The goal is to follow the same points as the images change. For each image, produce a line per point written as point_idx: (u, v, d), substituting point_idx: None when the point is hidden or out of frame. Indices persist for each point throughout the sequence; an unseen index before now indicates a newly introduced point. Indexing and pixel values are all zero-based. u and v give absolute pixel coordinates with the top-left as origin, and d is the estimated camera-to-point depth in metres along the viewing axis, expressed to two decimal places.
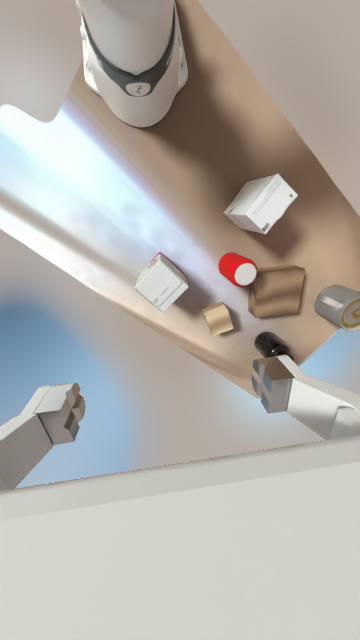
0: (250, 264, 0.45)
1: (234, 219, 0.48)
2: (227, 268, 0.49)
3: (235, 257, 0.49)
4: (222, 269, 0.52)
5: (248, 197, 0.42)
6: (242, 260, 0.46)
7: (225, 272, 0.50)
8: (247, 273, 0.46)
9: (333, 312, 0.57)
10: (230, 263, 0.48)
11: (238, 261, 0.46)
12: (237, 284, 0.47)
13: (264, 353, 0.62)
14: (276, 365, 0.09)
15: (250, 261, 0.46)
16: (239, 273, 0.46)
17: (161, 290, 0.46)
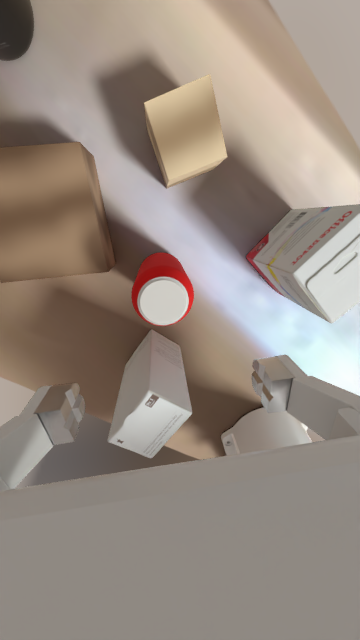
0: (157, 323, 0.21)
1: (172, 354, 0.31)
2: None
3: None
4: None
5: None
6: (171, 324, 0.22)
7: None
8: (160, 305, 0.20)
9: None
10: None
11: (178, 321, 0.22)
12: (177, 276, 0.20)
13: None
14: (276, 365, 0.09)
15: (154, 324, 0.22)
16: (179, 305, 0.20)
17: (353, 265, 0.20)
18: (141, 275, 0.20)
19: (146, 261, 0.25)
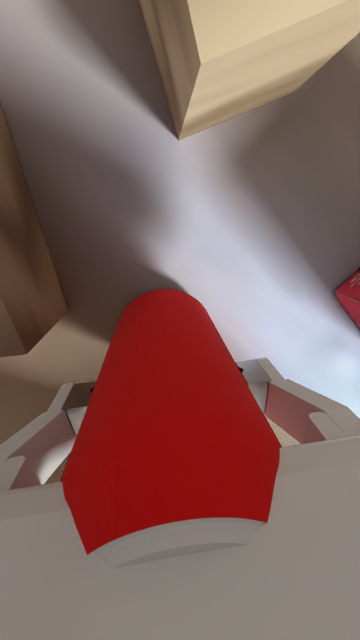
0: None
1: None
2: None
3: None
4: None
5: None
6: None
7: None
8: None
9: None
10: None
11: None
12: (255, 482, 0.04)
13: None
14: (254, 368, 0.09)
15: None
16: None
17: None
18: (87, 462, 0.04)
19: (128, 324, 0.10)
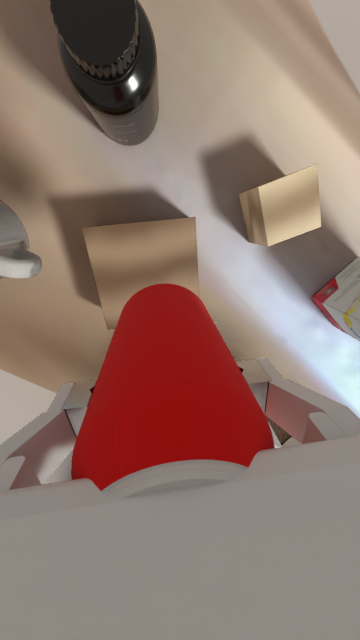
0: None
1: None
2: None
3: None
4: None
5: None
6: None
7: None
8: None
9: None
10: None
11: None
12: (238, 436, 0.05)
13: None
14: (254, 368, 0.09)
15: None
16: None
17: None
18: (99, 422, 0.05)
19: (131, 315, 0.11)
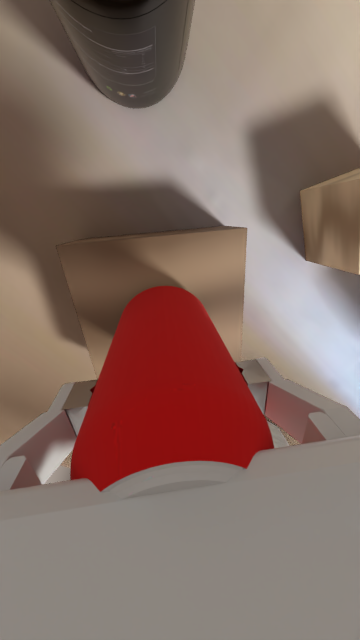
0: None
1: None
2: None
3: None
4: None
5: None
6: None
7: None
8: None
9: None
10: None
11: None
12: (238, 438, 0.05)
13: None
14: (254, 368, 0.09)
15: None
16: None
17: None
18: (98, 424, 0.05)
19: (131, 317, 0.11)
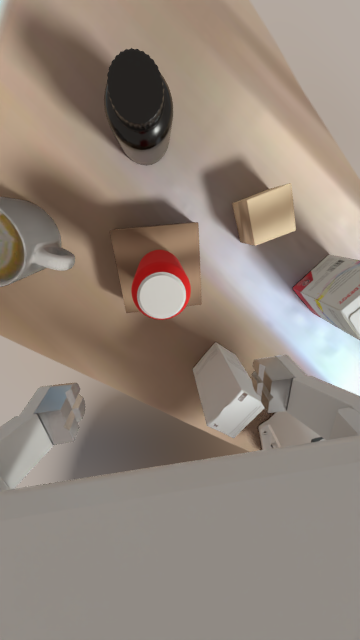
0: (156, 317, 0.22)
1: (236, 362, 0.41)
2: None
3: None
4: None
5: None
6: None
7: None
8: (159, 300, 0.21)
9: (35, 238, 0.26)
10: None
11: None
12: (175, 271, 0.21)
13: None
14: (276, 365, 0.09)
15: (153, 318, 0.23)
16: (177, 299, 0.21)
17: None
18: (140, 270, 0.21)
19: (145, 258, 0.26)
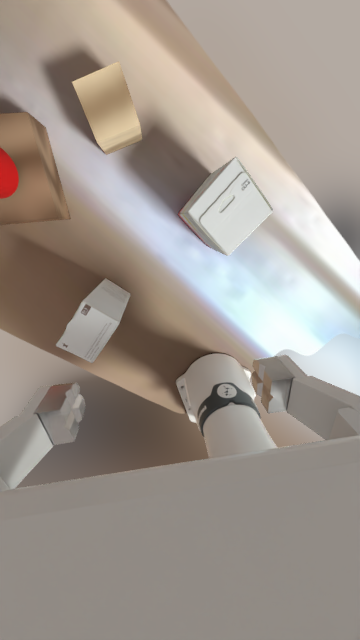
0: None
1: (119, 294, 0.38)
2: None
3: None
4: None
5: None
6: None
7: None
8: None
9: None
10: None
11: None
12: None
13: None
14: (276, 365, 0.09)
15: None
16: None
17: (233, 206, 0.28)
18: None
19: None
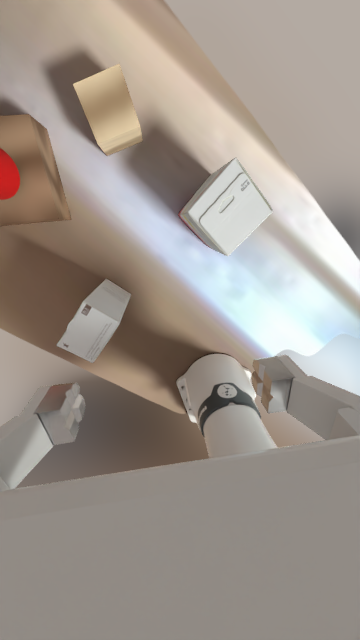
0: None
1: (119, 294, 0.38)
2: None
3: None
4: (0, 164, 0.25)
5: None
6: None
7: None
8: None
9: None
10: None
11: None
12: None
13: None
14: (276, 365, 0.09)
15: None
16: None
17: (233, 206, 0.28)
18: None
19: None
